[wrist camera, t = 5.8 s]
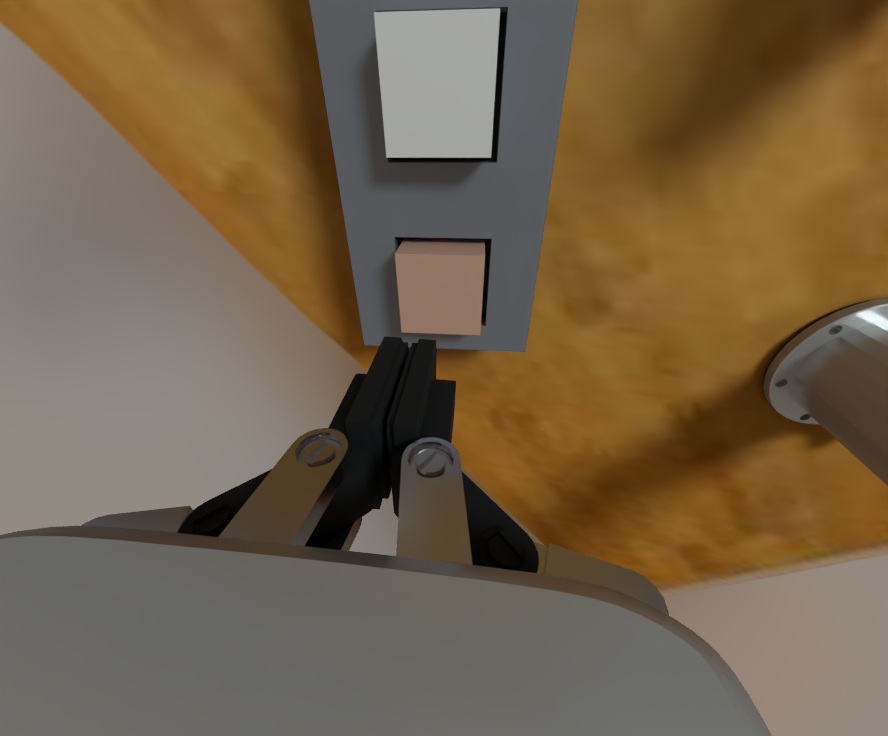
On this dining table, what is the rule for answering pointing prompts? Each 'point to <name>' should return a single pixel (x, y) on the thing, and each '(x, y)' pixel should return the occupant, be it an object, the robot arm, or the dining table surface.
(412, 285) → the terracotta key
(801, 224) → the dining table surface
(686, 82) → the dining table surface
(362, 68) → the key console
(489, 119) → the white key
